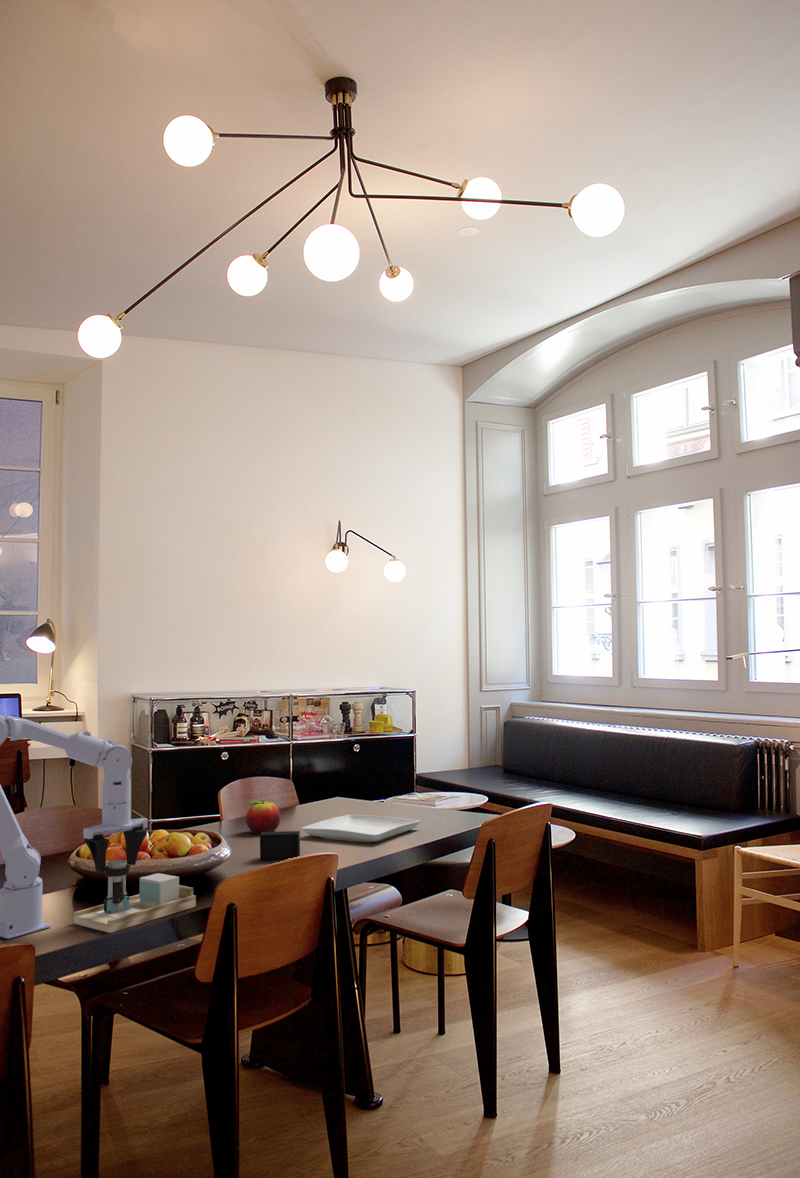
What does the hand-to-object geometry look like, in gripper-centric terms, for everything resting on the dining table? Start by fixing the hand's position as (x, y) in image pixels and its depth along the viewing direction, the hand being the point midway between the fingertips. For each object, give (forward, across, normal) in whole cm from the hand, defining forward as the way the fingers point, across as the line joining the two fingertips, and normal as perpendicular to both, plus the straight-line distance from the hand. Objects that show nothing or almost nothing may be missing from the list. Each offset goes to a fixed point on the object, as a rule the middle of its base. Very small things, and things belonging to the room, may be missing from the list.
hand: (116, 868), depth 185 cm
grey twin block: (+9, +10, -1) cm, 13 cm away
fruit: (+10, +84, +41) cm, 94 cm away
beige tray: (+10, +4, -2) cm, 11 cm away
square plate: (+11, +97, +12) cm, 98 cm away
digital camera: (+10, +60, +10) cm, 61 cm away
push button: (+9, +1, 0) cm, 9 cm away
